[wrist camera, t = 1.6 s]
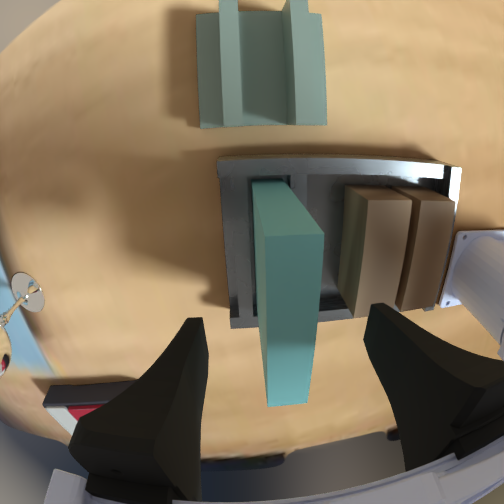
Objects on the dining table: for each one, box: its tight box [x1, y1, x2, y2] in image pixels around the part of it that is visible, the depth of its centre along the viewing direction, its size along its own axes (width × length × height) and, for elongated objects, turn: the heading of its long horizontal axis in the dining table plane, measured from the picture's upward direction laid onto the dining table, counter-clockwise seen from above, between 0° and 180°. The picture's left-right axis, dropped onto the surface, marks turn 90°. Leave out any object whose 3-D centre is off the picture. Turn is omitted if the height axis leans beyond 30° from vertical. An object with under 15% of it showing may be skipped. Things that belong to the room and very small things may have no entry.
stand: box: [196, 0, 327, 129], centre depth 15 cm, size 8×8×4 cm
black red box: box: [43, 380, 137, 435], centre depth 29 cm, size 11×4×15 cm
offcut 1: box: [337, 185, 412, 318], centre depth 19 cm, size 3×8×4 cm, turn 2°
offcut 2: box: [392, 186, 456, 312], centre depth 19 cm, size 3×8×4 cm, turn 2°
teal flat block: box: [251, 178, 324, 407], centre depth 16 cm, size 2×9×10 cm, turn 2°
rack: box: [217, 154, 461, 329], centre depth 20 cm, size 17×12×3 cm
